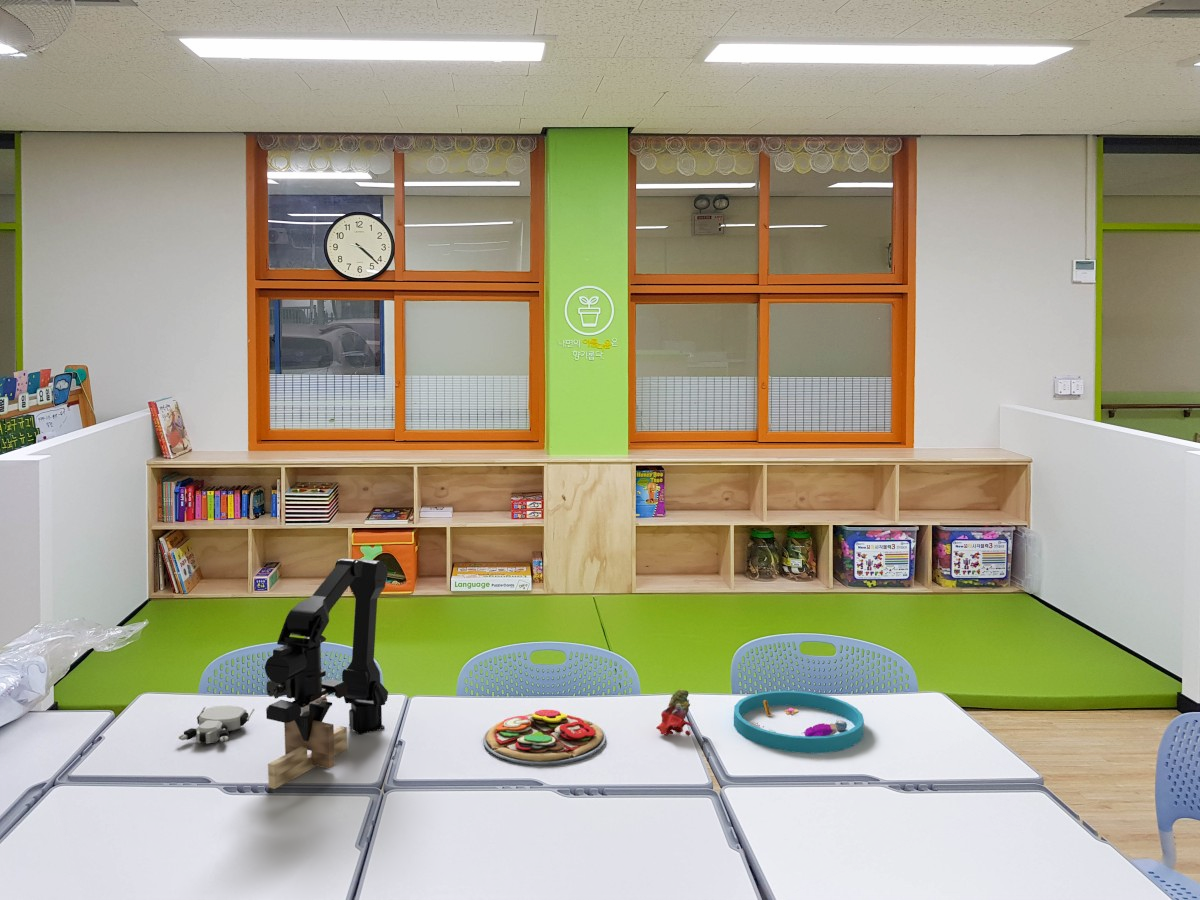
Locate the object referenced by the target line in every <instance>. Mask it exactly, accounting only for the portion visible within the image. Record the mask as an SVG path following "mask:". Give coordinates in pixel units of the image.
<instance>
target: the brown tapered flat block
mask: <svg viewBox="0 0 1200 900" xmlns="http://www.w3.org/2000/svg"><path fill="white" fill-rule="evenodd" d="M283 724H284V726H283V727H284V749H285V750H284V752H285V753H284V755H286V754H288V753H290V752H292V751H294V750H296V749H298V748H299V747H305V748H307V751H310V752H311V751H312V759H313V765H316V767H321V768H325V769H332V768H333V767H335V756H334V729H335V727H334V726H335V725H334V724H332V723H328V722H324V721H322V722H320V721H315V720H313V722H312V727H311V733H310V737H309V740H308V741H304V740H303V738H302V736H301V733H300V731H299V729H298V726H297V724H296V722H295V721H292V722H289V723H284V722H283Z"/></svg>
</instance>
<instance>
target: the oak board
mask: <svg viewBox="0 0 1200 900" xmlns="http://www.w3.org/2000/svg"><path fill="white" fill-rule="evenodd" d="M347 730H348V728H347V726H338V727H336V728H334V757H335V756H337V755H339V754H341V753H343V752H345V751H347V750H348V731H347ZM316 767H317V766H316V765H313V759H312V751H310V753H308V750H307V748H305V747H299V748H298V749H296V750H294V751H292V752H290V753H288V754H286V755H285V754H284V755H282V756H280V757H278V758H276V759H275V760H273V761H270V762H269V763H268V764H267V771H268V774H267V775H268V788H269V789H274V790H275V789H277V788H279V787H281V786H283V785H285V784H287V783H288V782H290V781H292V780H294V779H295V778H298V777H299V776H301V775H303V774H304V773H306V772H309V771H310V770H312V769H314V768H316Z"/></svg>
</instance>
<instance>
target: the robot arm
mask: <svg viewBox="0 0 1200 900" xmlns="http://www.w3.org/2000/svg"><path fill="white" fill-rule="evenodd" d="M388 574H389V573H388V567H387V565H385V563H384V562H383V561H381V560H373V559H371V560H370V559H361V558H360V559H359V558H357V559H356V558H347V557H345V558H343V557H342V558H341V559H337V561H336V562H335V565H334V568H333V569H332V570H331V572H330V573H329V574H328V575H327V577H325V579H324V580H323V582H321V584H320V585H319V587H317V589H316V590H315V591H314V593H313V594H312V595H311V596H310V597H308V598H307V599H305V600H301V601H299V602H298V603H297V604H296V605H295V606H294V607H293V608H291V610H290V611H289V612H288V614H287V616H286V617H285V621H284V623H283V625H282V629H281V631H280V634H279V636H278V639H277V642H276V644H277V646H278V645H280V647H276V648H274V649H273V650H272V655H271V656H269V658H267V660H266V662H265V665H264V671H265V674H266V677H267V678H268V679H269V681H266V692H267V695H268V696H269V697H274V699H279V698H280V697H284V696H286V698H287V699H294V700H293V701H290V700H289V701H288V700H285V699H284V700H283V699H280V700H278V701H276V702H273V703H270V704H269V705H268V706H267V707H266V708H265V712H266V713H265V714H266V719H267V720H271V721H276V722H280V723H283V724H284V723H289V722H292V721H295V722H296V724H297V726H298V729H299V731H300V733H301V736H302V738H303V740H304V741H308V740H309V737H310V733H311V727H312V722H313V720H315V721H320V722H324V721H323V720H324V719H325V717H326V715H327V713H328V711H329V709H330V708H331V707H332V706H333V702H332V701H331V702H330V701H328V698H327V696H329V695H331V694H334V696H335V697H336V698H337V699H341V698H343V699H344V702H345V703H344V704H350V708H351V709H349V710H348V716H349V717H348V718H349V719H348V720H349V722H348V727H350V729H352V731H354V732H355V733H356V734H357V735H362V734H367V733H372V732H376V731H381V730H384V729H385V725H383V724H382V722H383V721H382V719H383V717H382V715H383V712H382V706H385V705H386V702H387V701H388V696H389V691H388V690H387V689H386V687H385V686H384V685H383V684H382V682H381V672H380V669H379V668H378V666H377V663H376V662H375V646H376V645H375V644H376V631H377V630H376V626H377V611H378V610H377V608H378V599H379V596H380V595H381V594H382V592H383V591H384V589H385V588H386V582H387V577H388ZM349 588H350V590H351V593H352V594H353V596H354V598H355V602H354V619H353V620H354V621H353V635H352V651H351V652H352V653H351V661H350V663H349V664H348V665H347V668H345V669H343V670H342V672H341V680H336V679H332V678H327V679H324V680H323V679H322V678H323V677H325V676H326V677H327V675H326V674H327V673H326V670H323V669H322V649H321V648H322V647H321V646H322V645H321V644H322V643H324V642H326V640H327V638H326V636H324V635H323V632H325V630H326V628H327V626H328V624H329V623H330V612H331V610H332V608H333V607H334V606H335V605H336V603H338V601H339V600H340V599H341V597H342V596H343V594H344V593H345V592H346V590H347V589H349Z"/></svg>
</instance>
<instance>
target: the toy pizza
mask: <svg viewBox="0 0 1200 900" xmlns="http://www.w3.org/2000/svg"><path fill="white" fill-rule="evenodd" d="M482 739H483V741H482V742H483V745H484V747H485V749H487V751H488V752H490V753H491V754H492V755H494V756H495V757H498V758H500V759H502V760H505V761H509V762H511V763H517V764H523V765H529V766H553V765H555V766H556V765H561V764H562V765H564V764H568V763H569V764H570V763H572V762H573V763H574V762H578V761H581V760H584V759H585V758H589V757H590V756H592V755H594V754H595V753H596V752H597V751H599V750H600V749H601V748H602V747H603V746H604V745H605V742H606V734H605V732H604V730H603V729H602V728H601V727H600V726H599V725H597V724H596V723H594V722H592V721H589V720H587V719H583V718H580V717H577V716H574V715H571V714H566V713H564V712H560V711H559V710H554V709H540V710H536V711H534V712H533V713H528V714H525V715H517V716H513V717H508V718H506V719H504V720H502V721H500V722H498V723H496V724H494V725H493V726H491V727H490V728H489V729H487V731H486V732H485V733H484V736H483V738H482Z"/></svg>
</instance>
